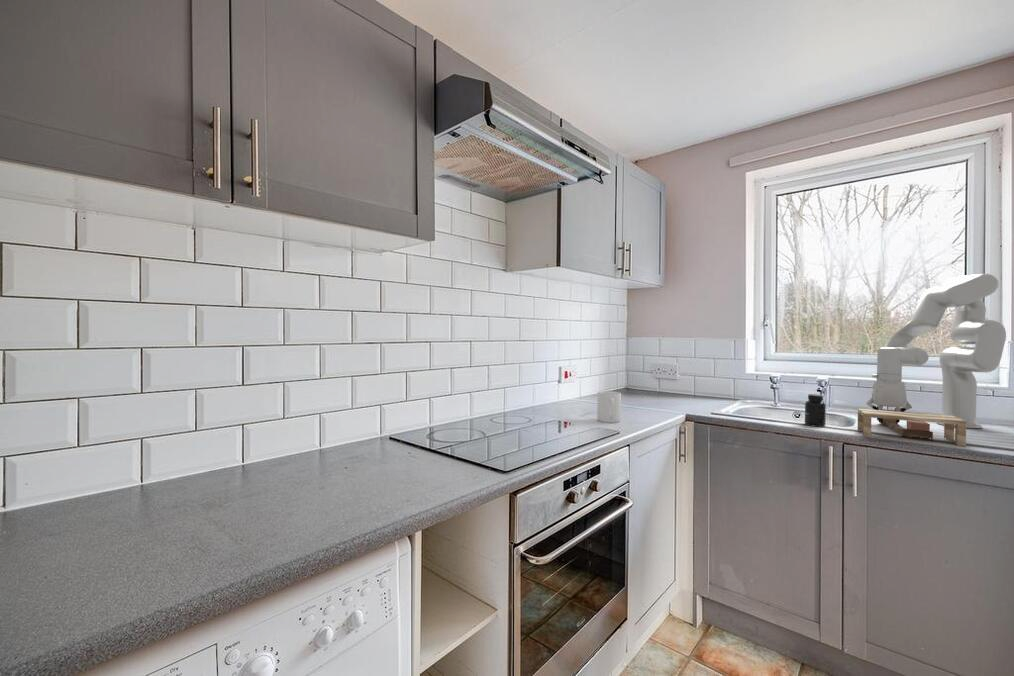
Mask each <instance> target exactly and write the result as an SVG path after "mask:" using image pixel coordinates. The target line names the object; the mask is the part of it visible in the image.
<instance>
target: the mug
mask: <svg viewBox="0 0 1014 676" xmlns="http://www.w3.org/2000/svg"><path fill="white" fill-rule="evenodd" d="M596 411H597V416H596V417H597V420H598V422H600V423H607V424H616V423H617V424H618V423H620V422H621V420H622V392H619V391H613V390H612V391H611V390H603V391H601V390H600V391H597V410H596Z"/></svg>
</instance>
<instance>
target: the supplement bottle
mask: <svg viewBox="0 0 1014 676" xmlns="http://www.w3.org/2000/svg"><path fill="white" fill-rule="evenodd" d="M807 399H808V400H807V401H805V403H804V424H805V425H807V426H811V425H814V426H813V427H825V426H826V415H827V413H826V409H827V405H826V402H823V401H824V396H823V395H822V394H821V395H820V394H815V393H814V394H813V393H812V394H811V393H810V394H808V397H807Z"/></svg>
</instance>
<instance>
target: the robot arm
mask: <svg viewBox="0 0 1014 676" xmlns="http://www.w3.org/2000/svg"><path fill="white" fill-rule="evenodd" d="M998 288H999V280H998V279H997V277H995V276H994V275H992V274H991V273H990V274H989V273H978V274H969V275H962V276H956V277H950V278H949V279H946V280H945V281H944V282H943V284H942V286H935V287H931V288H928V289H925V291H924V292H923V293H922V294H921V296H920V299H919V302H918V303H917V305H916V308H915V310H914V311H913V314H912V316H911V318H910V320H909V321H908V322H907V323H906V324H904V325H902V327H900V328H899V329H898V330H897V331H896V332H895V333H894V334H892V336H891V338H890V339H889V341H888V343H887V344H886V346H885V347H884V346H883V347H879V348H878V349H877V352H876V353H877V355H876V373H874V374H873V373H872V375H871V376H872V378H874V379H875V380H874V382H873V386H872V391H871V397H870V399H868V400H867V401H866V404H865V405H867V406H868V407H870V408H872V410H882V409H884V407H889V408H890V407H891V408H894V410H895V411H898V412H907V411H908V410H911V409H912V405H911V404H910V403H909V402H908V399H907V390H906V388H907V387H906V382H904V381H902V379H903V378H902V376H903V373H902V371H903V366H907V367H908V366H909V367H918V366H922V365H924V364H926V363H927V362H928V361H929V356H930V355H929V354H928V352H927V351H926V350H925V349H923V348H920V347H918V346H917V347H915V346H909V345H910V343H911V342H912V341H914V340H915V339H917V338H918V337H920V336H922V335H925V334H928V333H931V332H933V331H935V330H936V329H937V328H938V327H939V326H940V323H941V321H942V319H943V316H944V315H945V313H946V310H947V309H948V308H955V309H954V317H953V320H952V324H951V328H950V334H949V335H950V339H951V340H952V342H954V343H956V344H961V345H974V347H973V346H972V347H969V346H952V347H948V348H945V349H944V350H942V352H941V353H940V354H939V364H940V368H941V371H942V372H941V373H942V374H941V375H942V389H941V390H942V395H941V396H942V397H941V415H952V416H955V417H957V418H959V419H962V420H964V421H966V429H981V428H982V426H983V425H982V424H980V423H978V422H977V389H978V387H977V386H978V385H977V384H978V383H977V380H976V377H975V375H974V373H992V372H993V371H995V370H996V369H997V368H998V367H999V365H1000V363H1001V360H1002V356H1003V352H1004V347H1005V343H1006V338H1007V331H1006V328H1005V326H1004V325H1003V324H1002V323H1001V322H1000V321H996V320H994V319H993V320H991V319H986V313H987V312H986V311H987V307H986V304H985V303H984V302H983V300H982V299H984V298H986V297H988V296H991V295H992V294H993V293H995V292H996V291H997V289H998ZM876 420H877V422H879V424H881V423H883V418H876ZM900 421H901V420H897V419H896V423H897V424H898V425H899V423H900ZM937 424H938V425H941V426H944V423H937ZM954 428H955V424H954Z"/></svg>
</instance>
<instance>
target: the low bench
mask: <svg viewBox="0 0 1014 676" xmlns="http://www.w3.org/2000/svg"><path fill="white" fill-rule="evenodd" d="M873 418H874V419H877V418H885V419H897V420H900V421H907V420H909V421H922V422H927V423H936V424H938V423H944V425H943V430H944V431H943V438H944V439H945V438H946V439H945V440H948V439H953V440H952V441H954V445H956V446H957V447H967V428H966V421H964V420H962V419H959V418H957V417H955V416H952V415H942V414H937V413H936V414H935V413H923V412H921V413H920V412H910V411H904V412H898V411H884V410H874V409H868V408H857V431H858V432H862V436H863V437H866V438H867V437H868V438H871V437H872V419H873ZM954 424H955V427H954Z"/></svg>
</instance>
